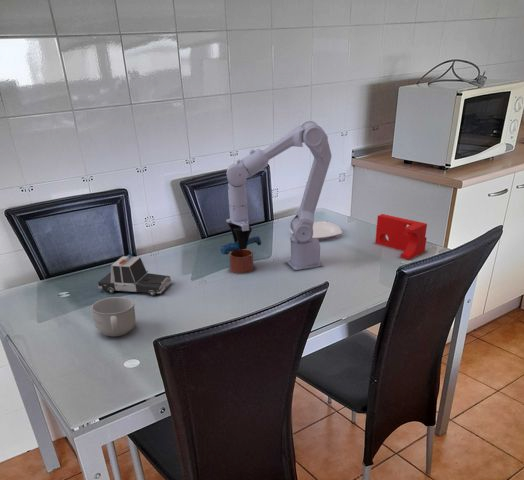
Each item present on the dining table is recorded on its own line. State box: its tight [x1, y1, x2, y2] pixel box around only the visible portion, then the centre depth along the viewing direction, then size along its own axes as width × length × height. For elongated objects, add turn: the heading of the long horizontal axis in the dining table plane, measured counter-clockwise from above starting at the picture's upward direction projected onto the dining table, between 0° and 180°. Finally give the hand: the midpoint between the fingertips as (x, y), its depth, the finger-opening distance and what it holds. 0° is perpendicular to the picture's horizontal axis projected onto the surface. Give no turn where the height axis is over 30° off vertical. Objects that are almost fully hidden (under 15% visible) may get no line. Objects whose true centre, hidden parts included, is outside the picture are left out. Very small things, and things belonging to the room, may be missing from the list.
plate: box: [289, 220, 343, 241], centre depth 195 cm, size 19×19×2 cm
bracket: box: [374, 213, 428, 260], centre depth 176 cm, size 18×10×10 cm
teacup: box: [90, 296, 136, 337], centre depth 131 cm, size 14×11×8 cm
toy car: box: [97, 254, 173, 297], centre depth 155 cm, size 10×21×10 cm, turn 78°
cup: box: [228, 248, 255, 274], centre depth 167 cm, size 8×8×6 cm
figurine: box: [219, 235, 262, 255], centre depth 164 cm, size 5×4×15 cm
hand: (240, 246), depth 164 cm, fingers closed on figurine, 5 cm apart
